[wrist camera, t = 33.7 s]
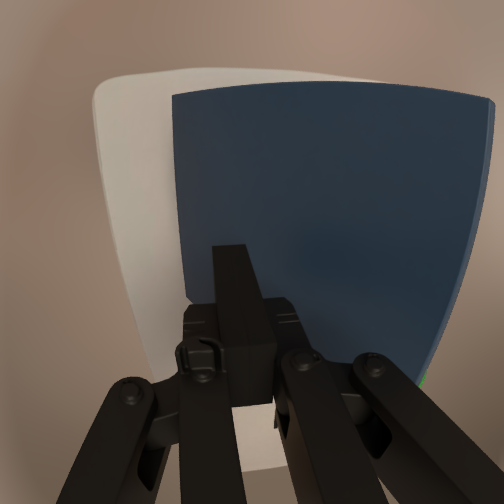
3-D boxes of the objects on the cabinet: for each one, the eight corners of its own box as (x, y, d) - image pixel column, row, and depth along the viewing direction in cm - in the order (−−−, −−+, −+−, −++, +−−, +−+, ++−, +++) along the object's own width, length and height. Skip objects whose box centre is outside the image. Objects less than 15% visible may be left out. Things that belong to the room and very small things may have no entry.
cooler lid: (496, 102, 6) (491, 98, 6) (378, 455, 13) (368, 464, 13) (181, 94, 20) (171, 95, 20) (194, 294, 28) (185, 296, 27)
